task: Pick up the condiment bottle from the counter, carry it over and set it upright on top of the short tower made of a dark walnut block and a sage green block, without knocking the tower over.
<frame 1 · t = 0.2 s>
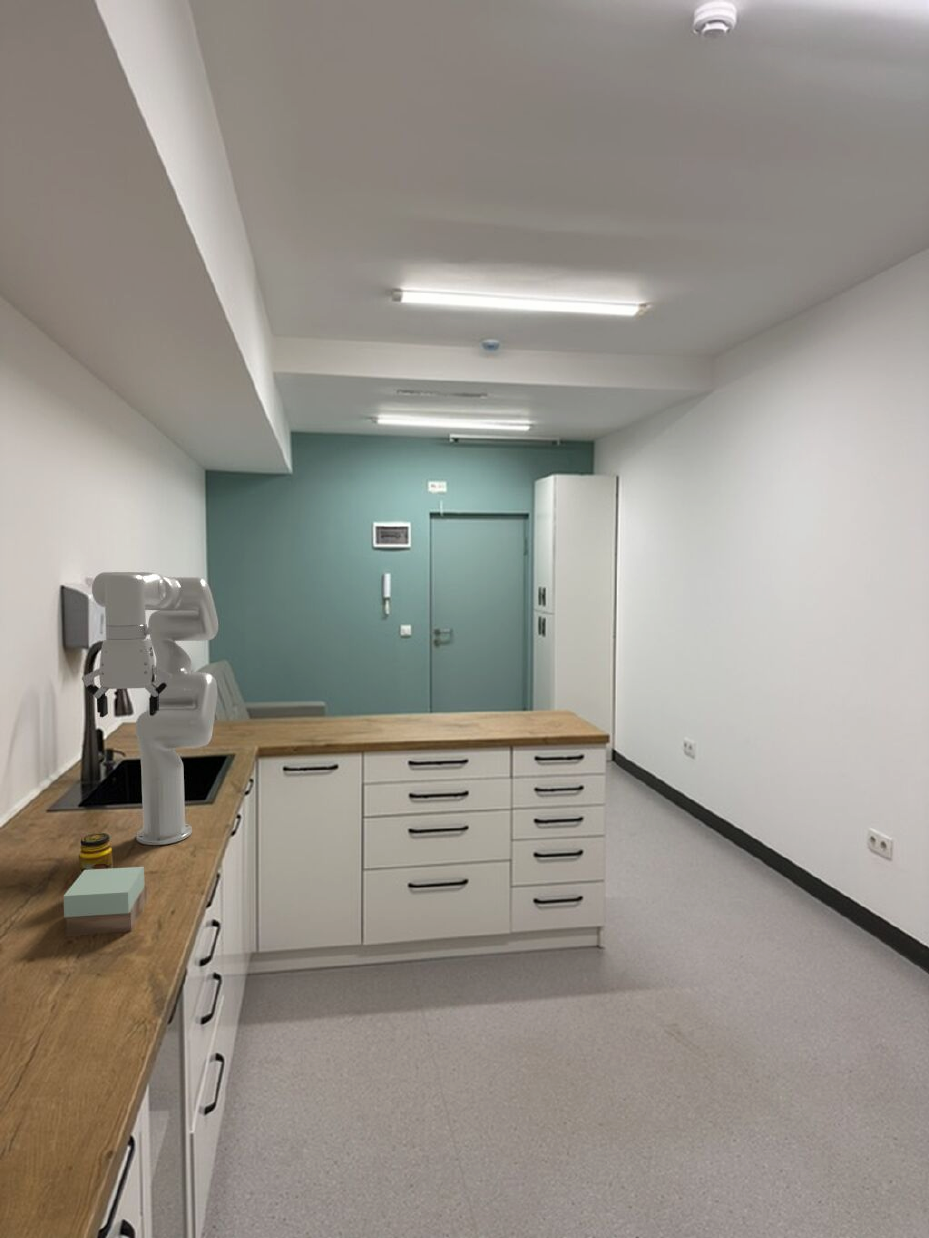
hand: (128, 715, 152), 36 cm above the counter, tool pointing down, fingers open, 9 cm apart
bottom block: (108, 920, 139), on the counter, touching top block
top block: (106, 900, 139), point 4 cm above the counter, touching bottom block
condiment: (95, 893, 150), on the counter
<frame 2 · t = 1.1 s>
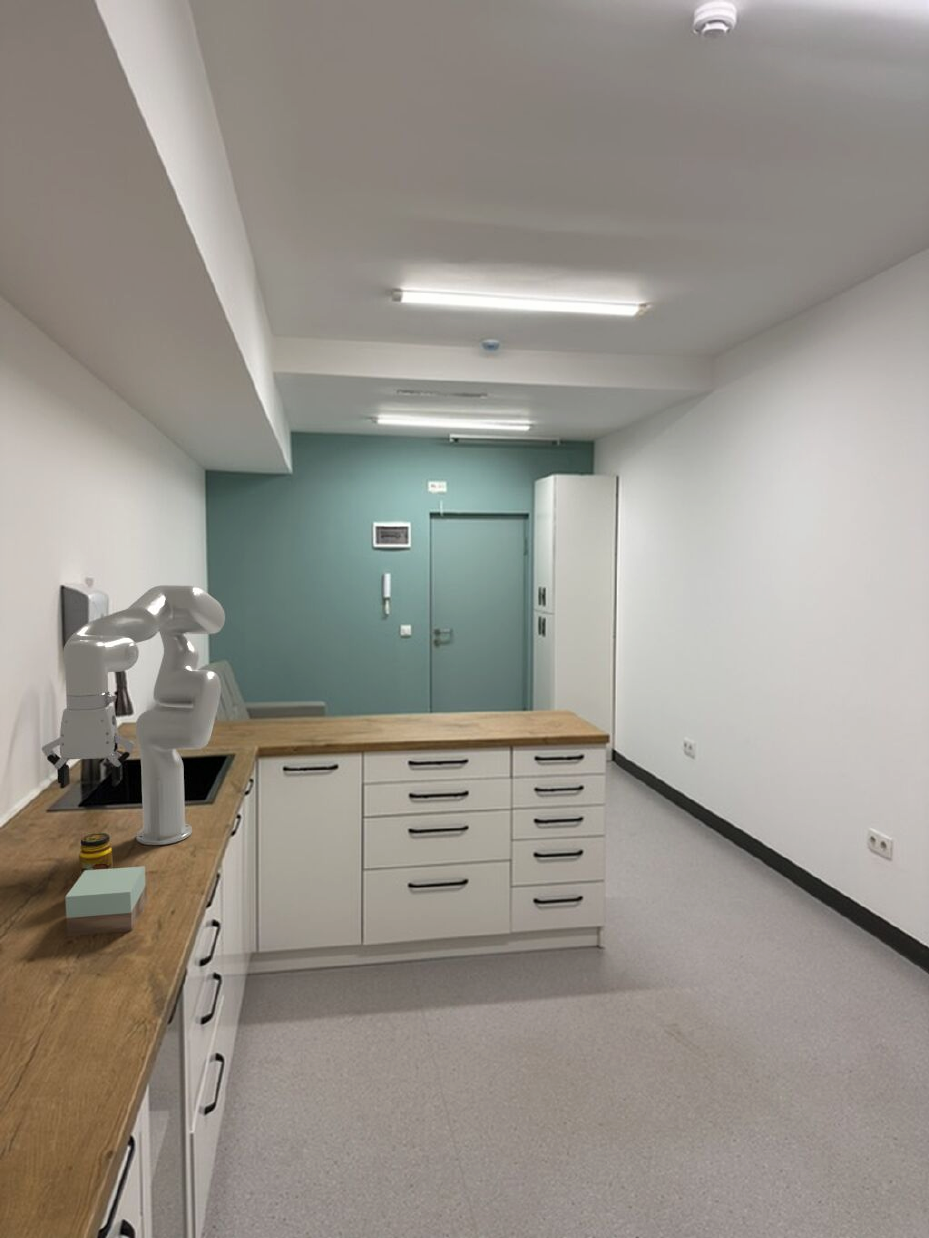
hand: (90, 785, 147), 23 cm above the counter, tool pointing down, fingers open, 9 cm apart
nothing on the counter moved.
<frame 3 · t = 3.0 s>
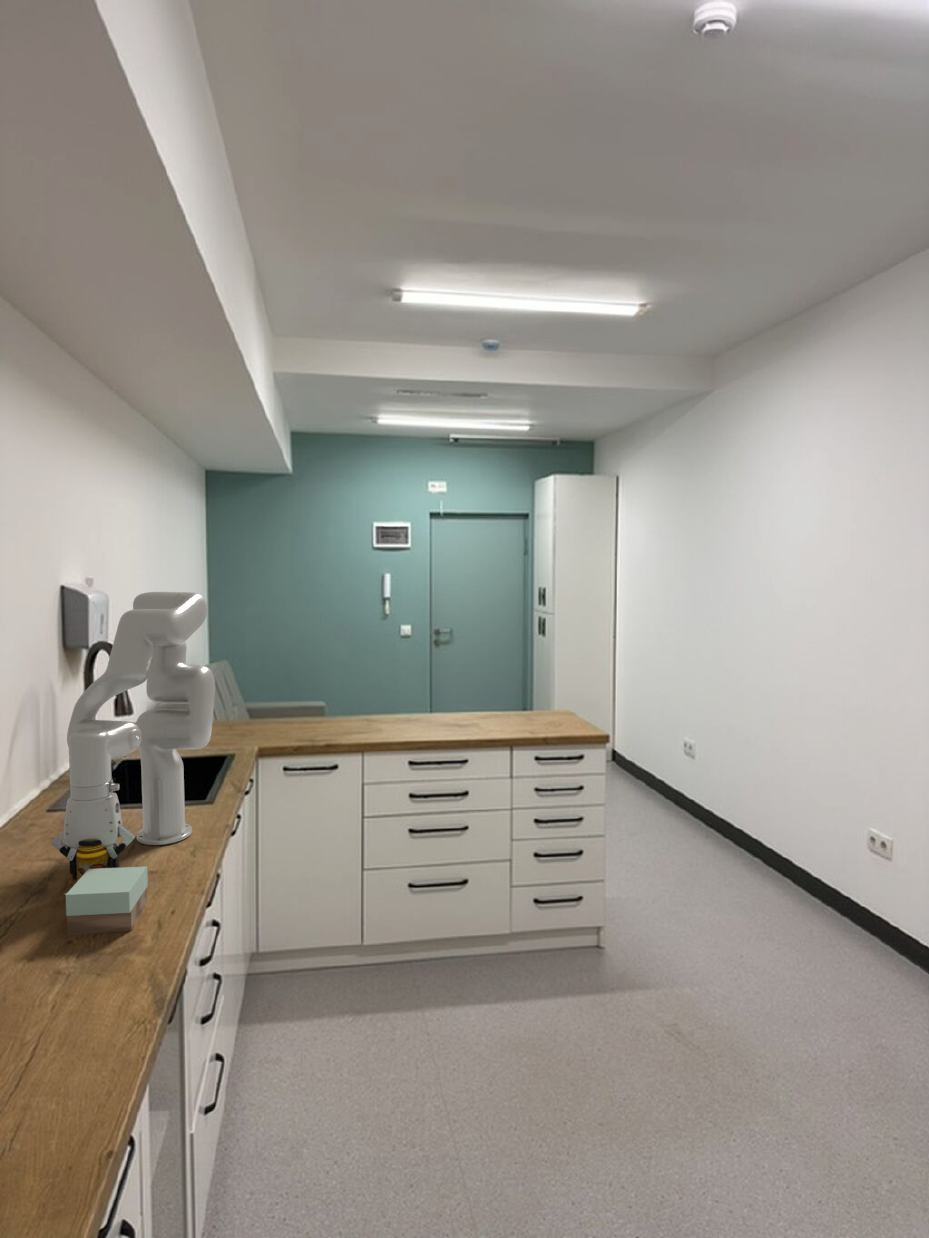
hand: (94, 875, 149), 4 cm above the counter, tool pointing down, fingers open, 6 cm apart
nothing on the counter moved.
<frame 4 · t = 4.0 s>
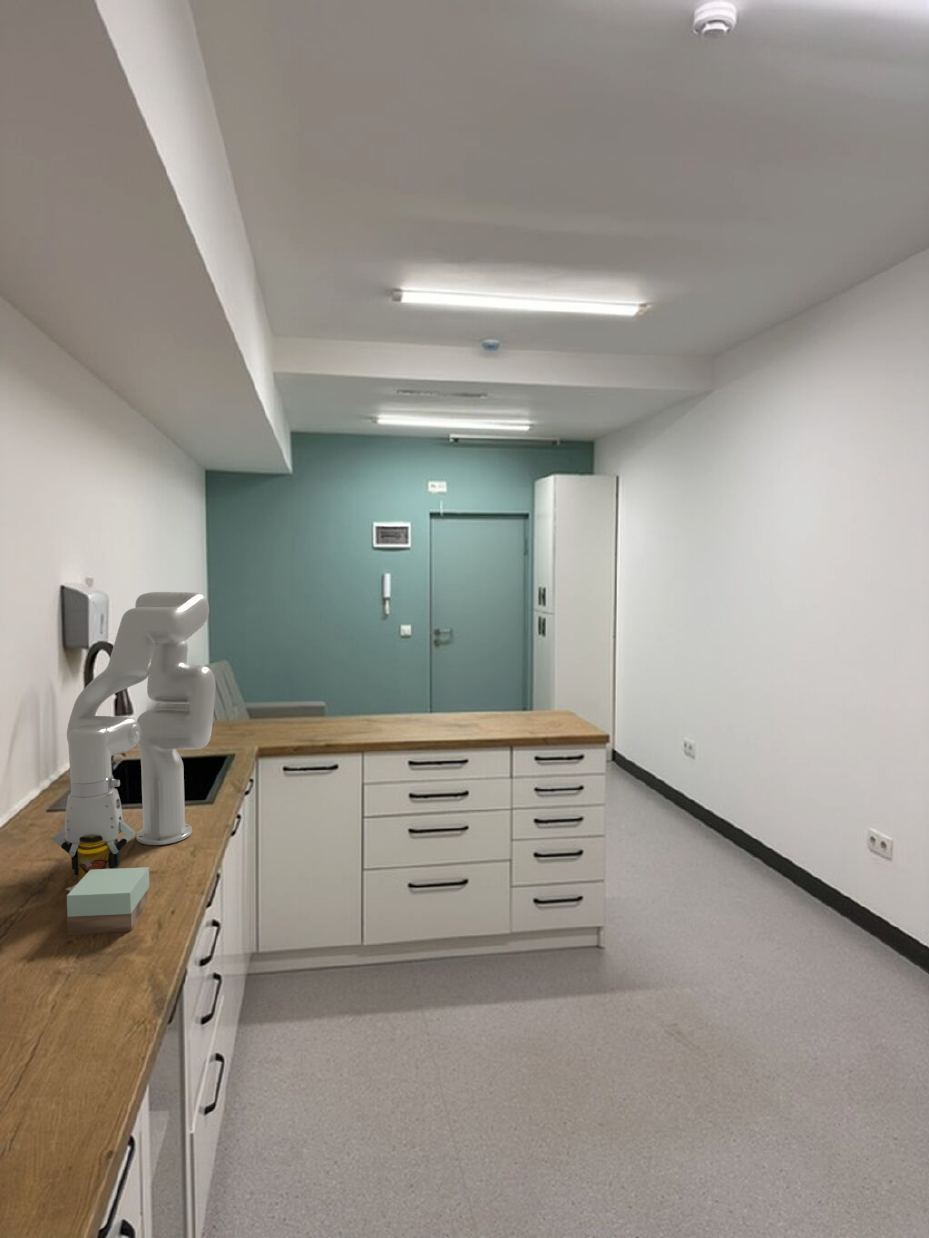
hand: (96, 870, 150), 4 cm above the counter, tool pointing down, fingers closed on condiment, 6 cm apart
condiment: (94, 888, 150), on the counter, touching gripper
everything else where it was.
when the fingers open (13 cm above the counter, at t = 8.4 s): condiment drops 2 cm, resting on top block.
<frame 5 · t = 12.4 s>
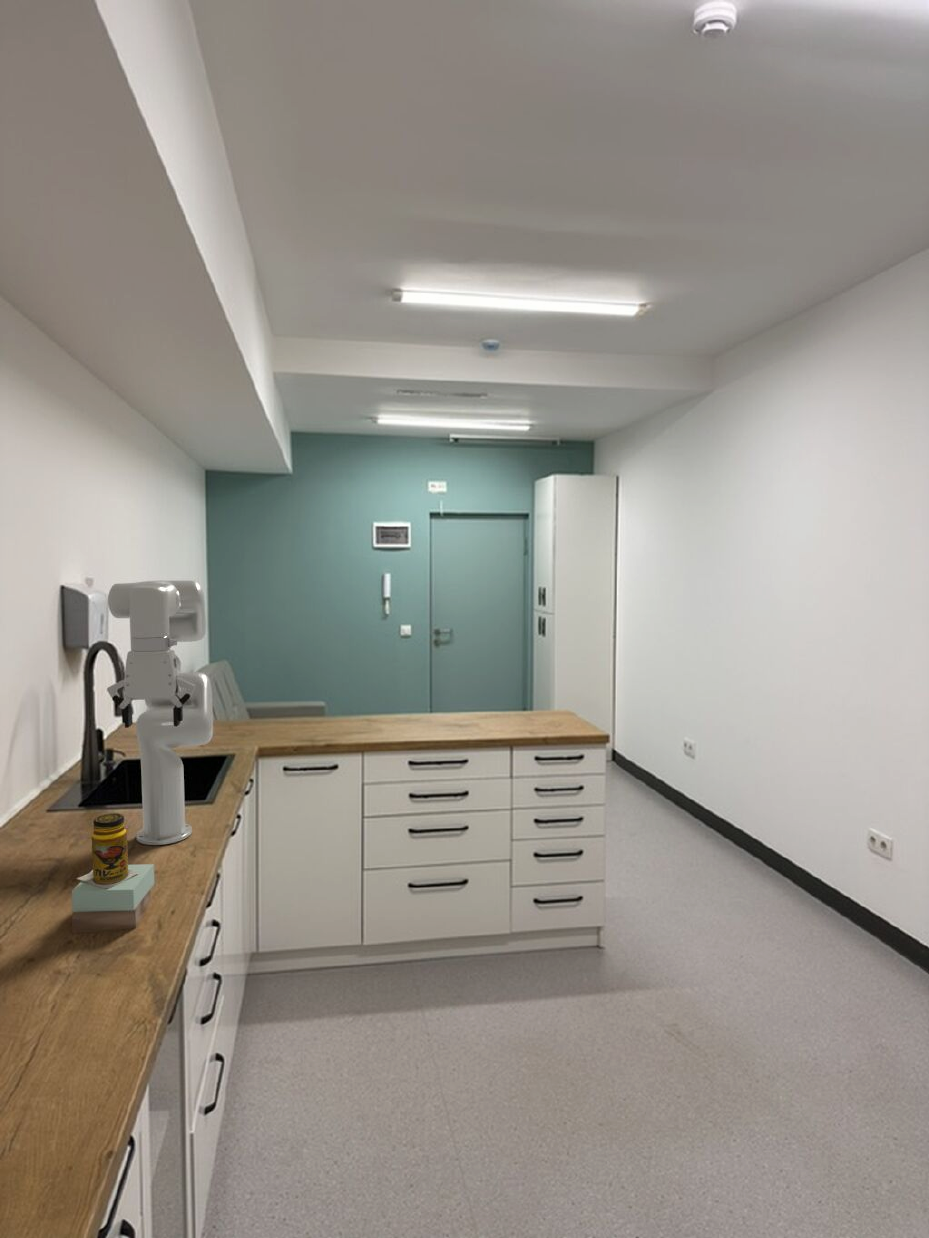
hand: (153, 725, 153), 33 cm above the counter, tool pointing down, fingers open, 9 cm apart
top block: (115, 896, 140), point 4 cm above the counter, touching bottom block, condiment
condiment: (108, 877, 140), point 7 cm above the counter, touching top block
at the end: condiment 1.3 cm off-centre on the top block, point 3.8 cm above the top block's base; condiment tilted 0°; top block 0.4 cm off-centre on the bottom block, point 4.0 cm above the bottom block's base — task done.
